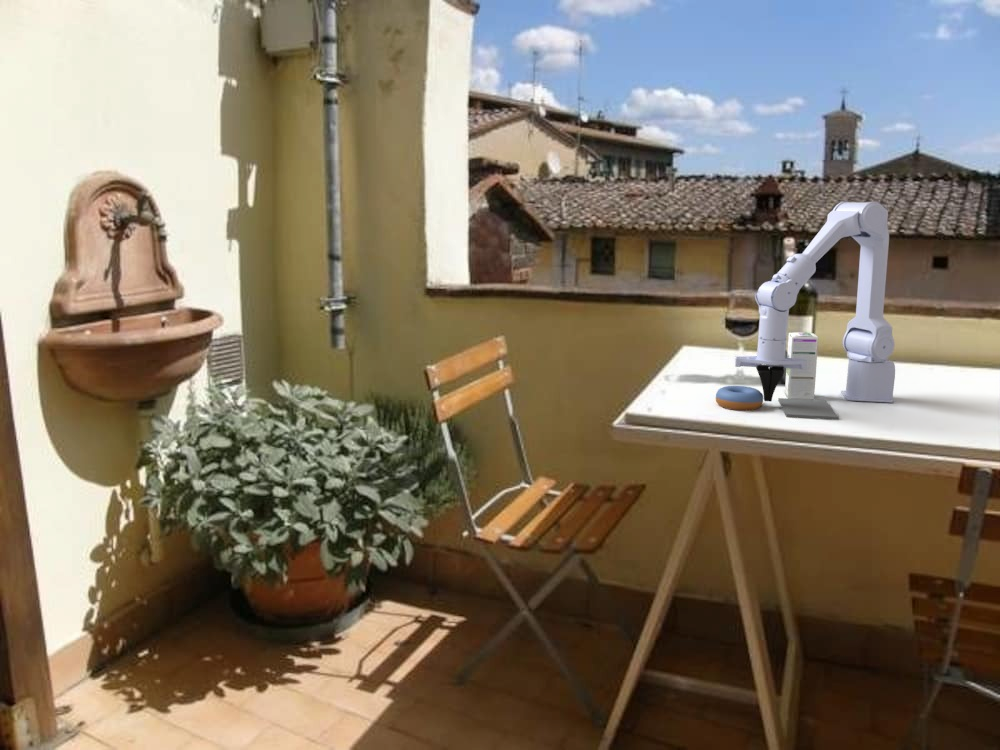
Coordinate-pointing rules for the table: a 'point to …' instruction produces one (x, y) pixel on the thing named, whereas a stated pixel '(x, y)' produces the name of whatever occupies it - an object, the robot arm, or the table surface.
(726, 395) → the doughnut
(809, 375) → the syrup box
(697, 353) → the table surface
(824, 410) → the mat
